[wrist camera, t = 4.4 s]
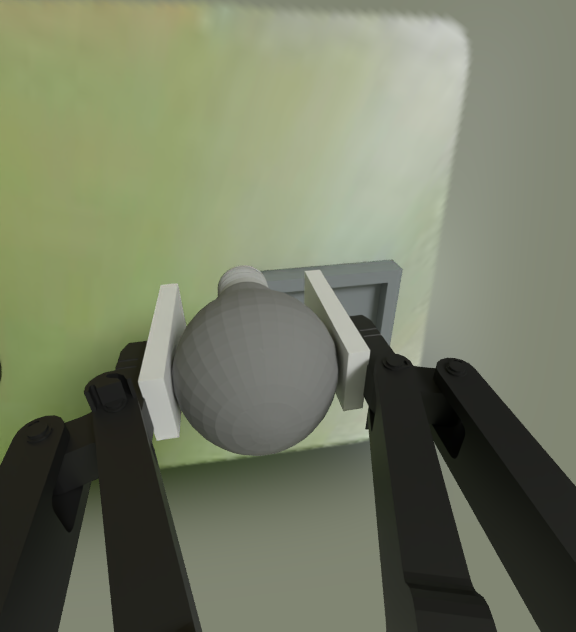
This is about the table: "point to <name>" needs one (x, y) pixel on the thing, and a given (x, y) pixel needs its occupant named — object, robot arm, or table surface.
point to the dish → (351, 288)
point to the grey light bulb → (254, 367)
